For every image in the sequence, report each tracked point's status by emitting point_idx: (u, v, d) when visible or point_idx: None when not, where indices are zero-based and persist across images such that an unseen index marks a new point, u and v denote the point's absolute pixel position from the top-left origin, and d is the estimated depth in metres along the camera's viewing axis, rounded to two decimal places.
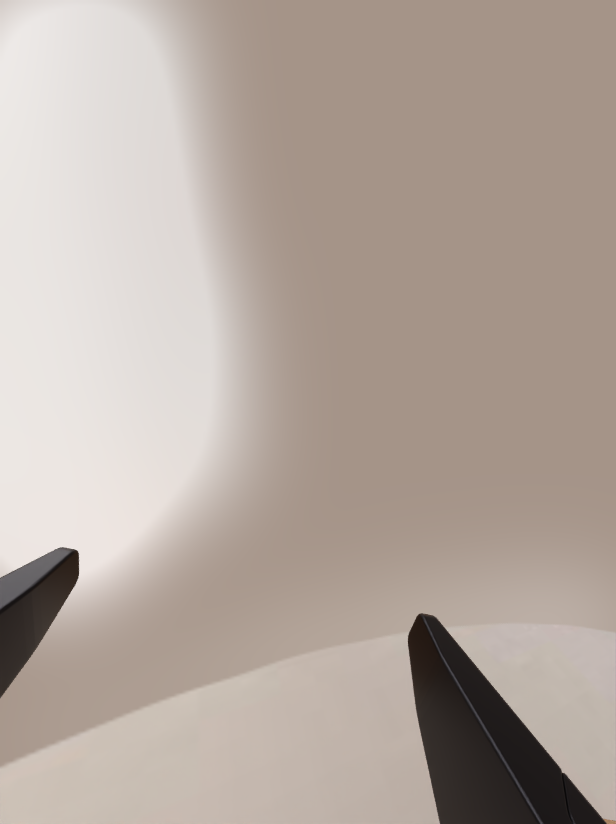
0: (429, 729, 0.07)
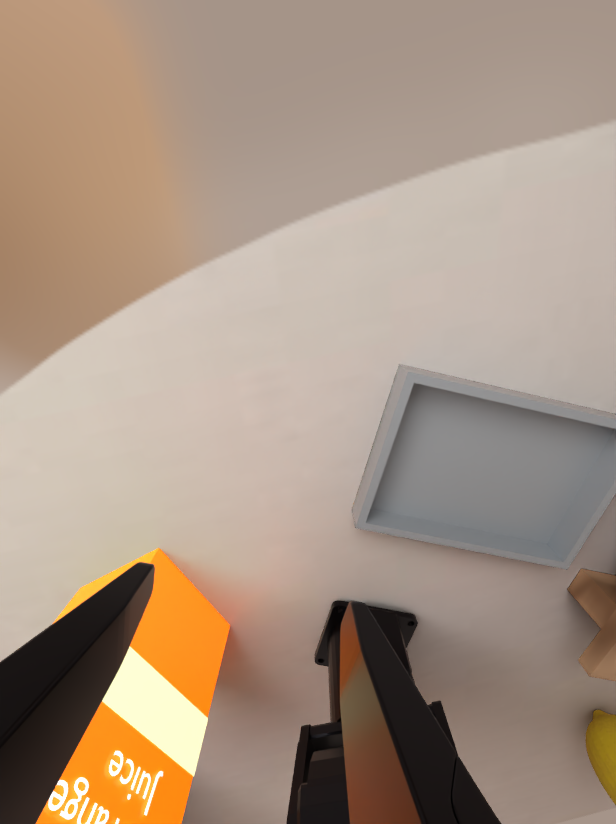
0: (347, 716, 0.07)
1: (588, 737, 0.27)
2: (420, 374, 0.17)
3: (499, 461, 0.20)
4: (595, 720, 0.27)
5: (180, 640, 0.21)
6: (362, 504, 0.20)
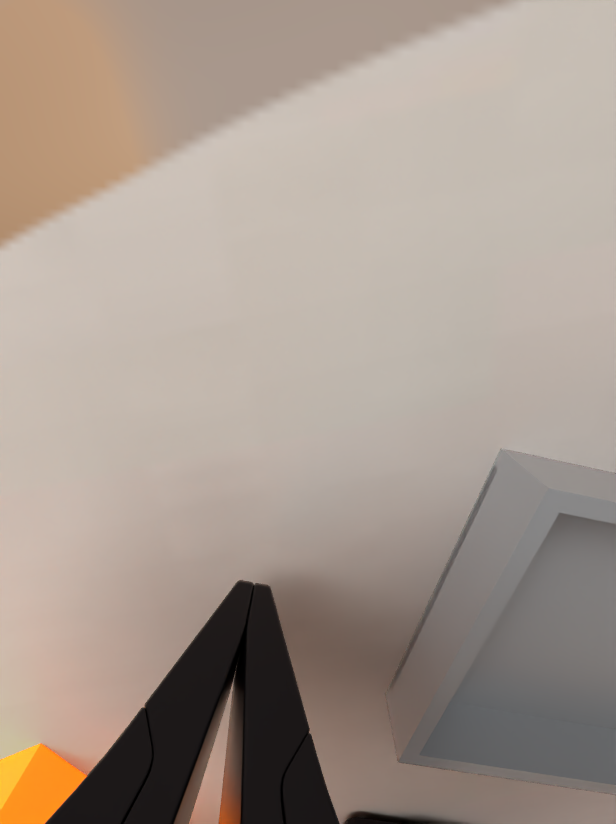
0: (233, 698, 0.07)
1: None
2: (576, 493, 0.07)
3: None
4: None
5: None
6: (414, 723, 0.10)
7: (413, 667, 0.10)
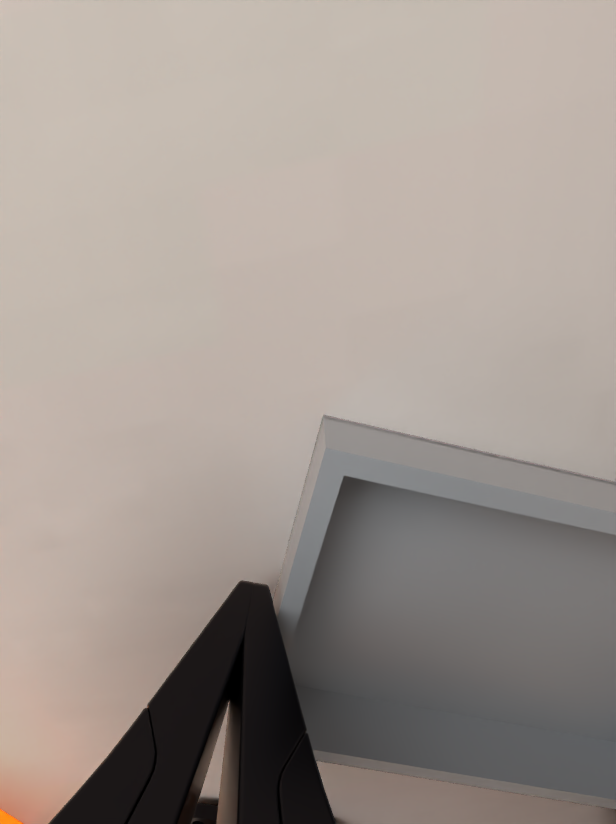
0: (231, 697, 0.07)
1: None
2: (360, 454, 0.07)
3: (543, 611, 0.10)
4: None
5: None
6: None
7: None
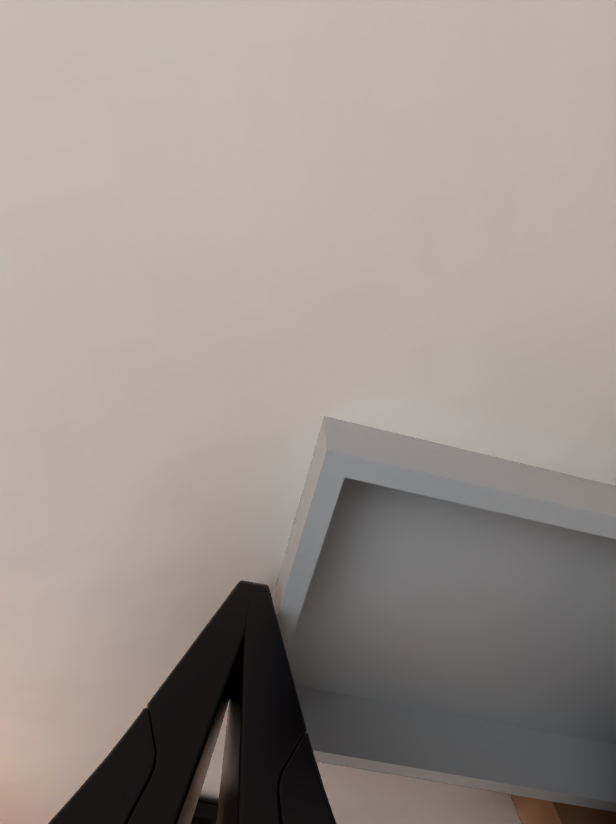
0: (231, 697, 0.07)
1: None
2: (361, 456, 0.07)
3: (540, 613, 0.10)
4: None
5: None
6: None
7: None
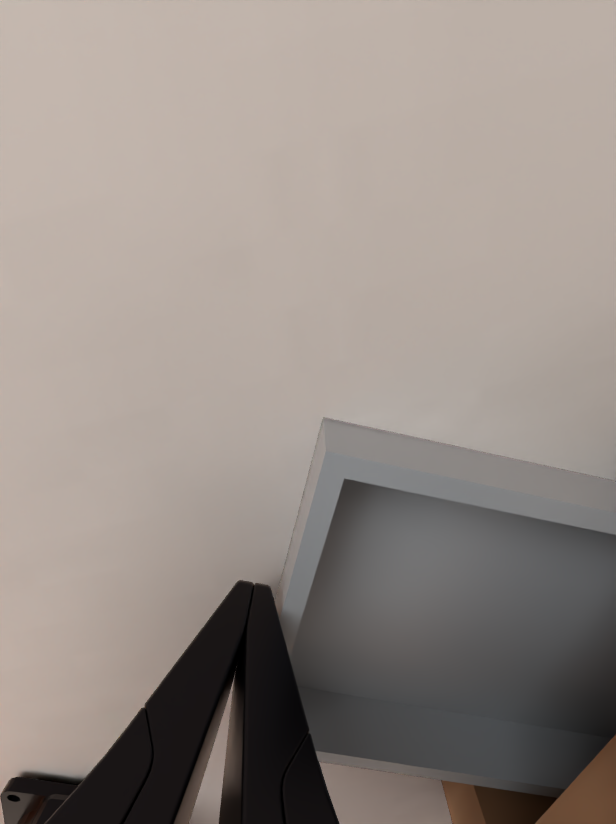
0: (233, 698, 0.07)
1: None
2: (360, 457, 0.07)
3: (544, 610, 0.10)
4: None
5: None
6: None
7: None
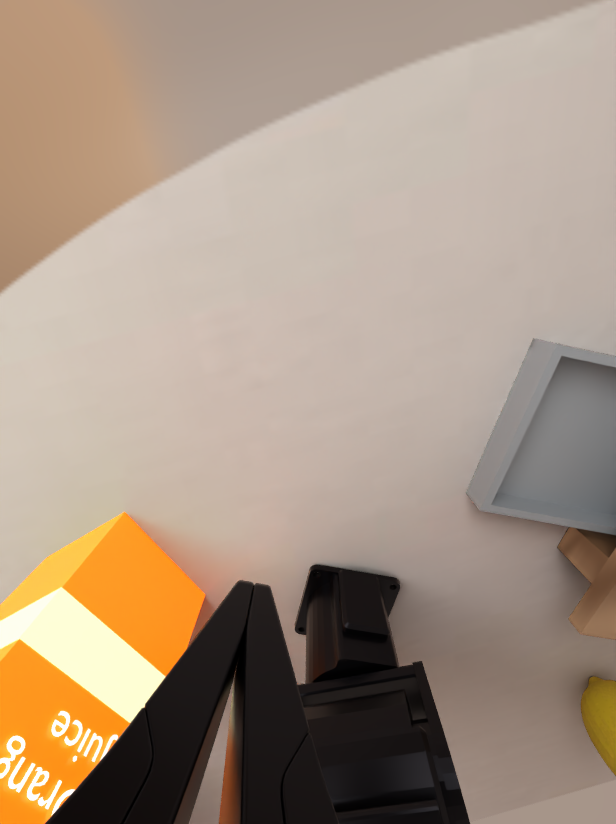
0: (233, 698, 0.07)
1: (583, 704, 0.26)
2: (568, 346, 0.16)
3: None
4: (590, 686, 0.26)
5: (146, 605, 0.20)
6: (489, 485, 0.19)
7: (486, 464, 0.20)
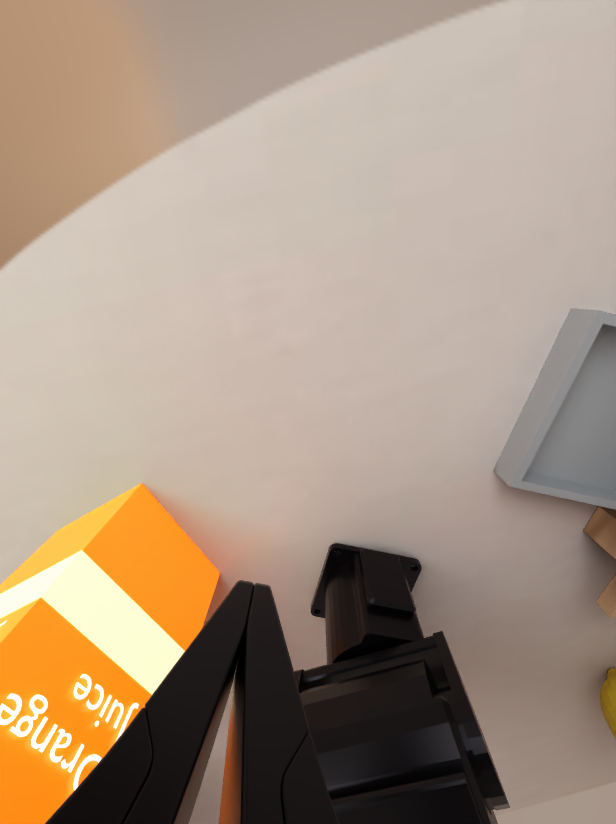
0: (233, 698, 0.07)
1: (603, 695, 0.25)
2: (610, 314, 0.16)
3: None
4: (610, 677, 0.26)
5: (163, 577, 0.19)
6: (520, 460, 0.19)
7: (516, 439, 0.20)
